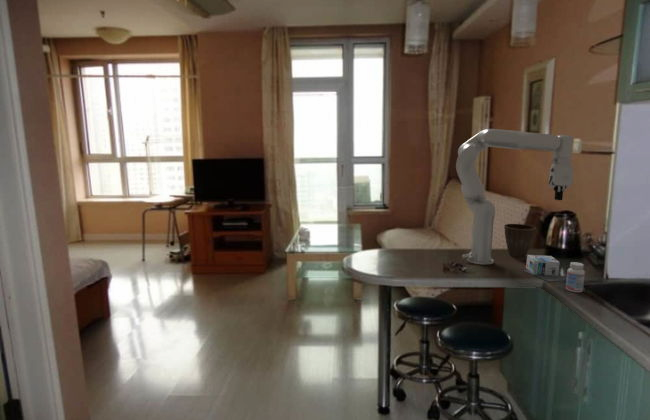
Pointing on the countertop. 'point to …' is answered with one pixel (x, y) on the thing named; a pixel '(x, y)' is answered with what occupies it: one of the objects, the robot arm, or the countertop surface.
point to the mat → (548, 277)
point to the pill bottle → (575, 277)
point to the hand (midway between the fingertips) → (558, 199)
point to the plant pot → (518, 239)
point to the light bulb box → (542, 265)
